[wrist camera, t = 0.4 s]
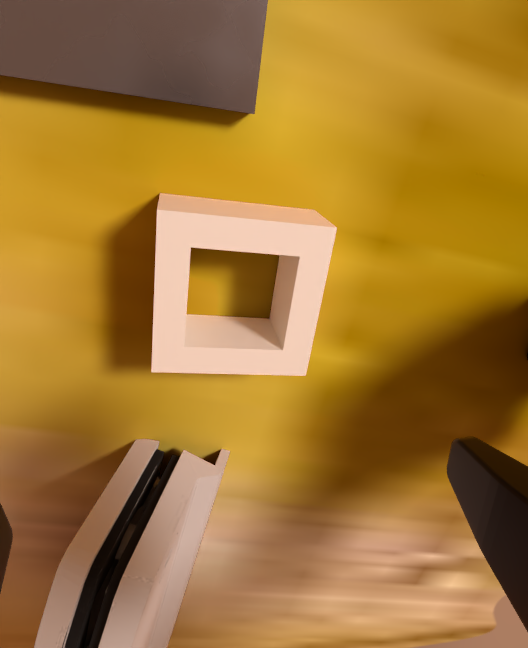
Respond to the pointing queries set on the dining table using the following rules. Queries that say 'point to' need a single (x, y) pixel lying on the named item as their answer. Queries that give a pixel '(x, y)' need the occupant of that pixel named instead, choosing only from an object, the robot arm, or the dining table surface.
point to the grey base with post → (139, 47)
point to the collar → (238, 332)
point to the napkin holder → (133, 554)
